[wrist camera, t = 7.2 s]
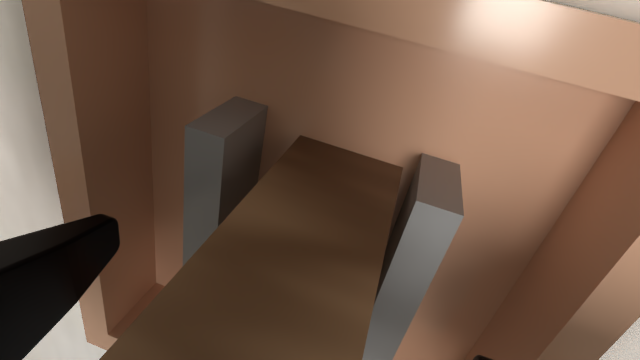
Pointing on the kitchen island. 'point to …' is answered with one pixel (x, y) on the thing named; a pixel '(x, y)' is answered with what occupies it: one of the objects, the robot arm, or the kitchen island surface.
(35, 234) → the robot arm
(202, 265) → the wooden rectangular block
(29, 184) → the kitchen island surface
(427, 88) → the shallow wooden tray
